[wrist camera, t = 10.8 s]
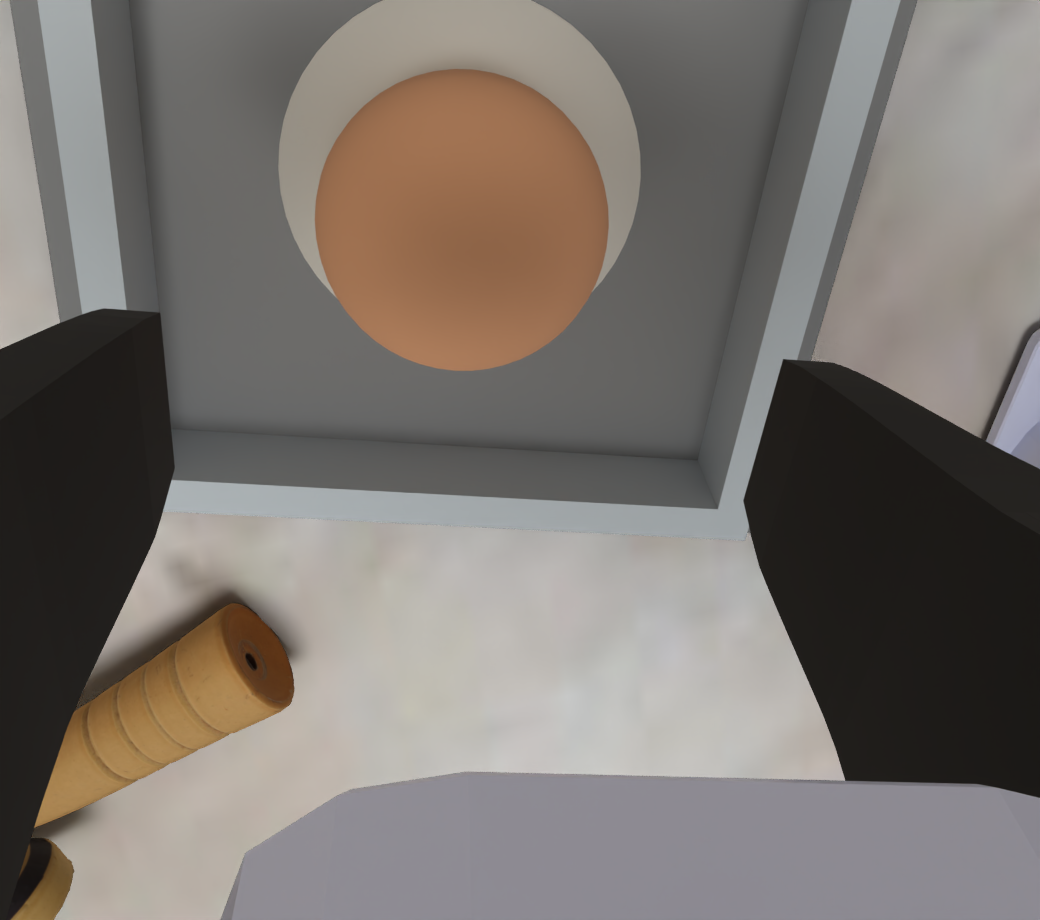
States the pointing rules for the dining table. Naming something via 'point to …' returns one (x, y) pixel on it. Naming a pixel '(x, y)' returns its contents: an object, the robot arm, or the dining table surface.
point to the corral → (438, 392)
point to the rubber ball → (461, 219)
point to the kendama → (154, 731)
